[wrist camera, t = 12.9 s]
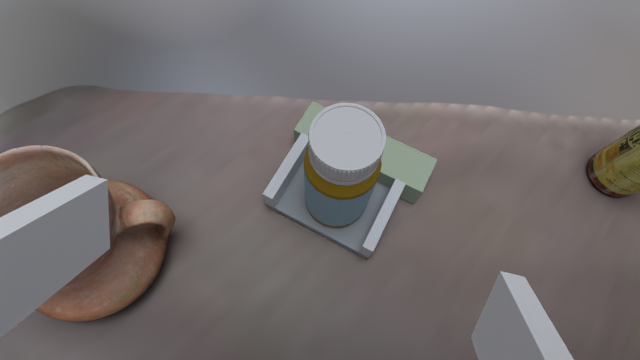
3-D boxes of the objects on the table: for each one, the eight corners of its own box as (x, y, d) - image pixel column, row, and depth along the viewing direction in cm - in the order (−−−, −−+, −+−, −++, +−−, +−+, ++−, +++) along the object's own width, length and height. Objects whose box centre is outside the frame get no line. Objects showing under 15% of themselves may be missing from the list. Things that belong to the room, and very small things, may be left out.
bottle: (345, 241, 42) (363, 193, 28) (293, 207, 43) (285, 146, 29) (376, 191, 44) (407, 124, 30) (326, 161, 46) (333, 84, 32)
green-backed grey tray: (427, 173, 47) (438, 158, 43) (383, 268, 42) (391, 261, 38) (312, 118, 49) (312, 100, 45) (259, 202, 45) (254, 189, 41)
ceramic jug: (16, 335, 38) (-131, 336, 25) (33, 201, 44) (-82, 143, 31) (198, 307, 40) (149, 294, 27) (193, 181, 46) (150, 119, 32)
